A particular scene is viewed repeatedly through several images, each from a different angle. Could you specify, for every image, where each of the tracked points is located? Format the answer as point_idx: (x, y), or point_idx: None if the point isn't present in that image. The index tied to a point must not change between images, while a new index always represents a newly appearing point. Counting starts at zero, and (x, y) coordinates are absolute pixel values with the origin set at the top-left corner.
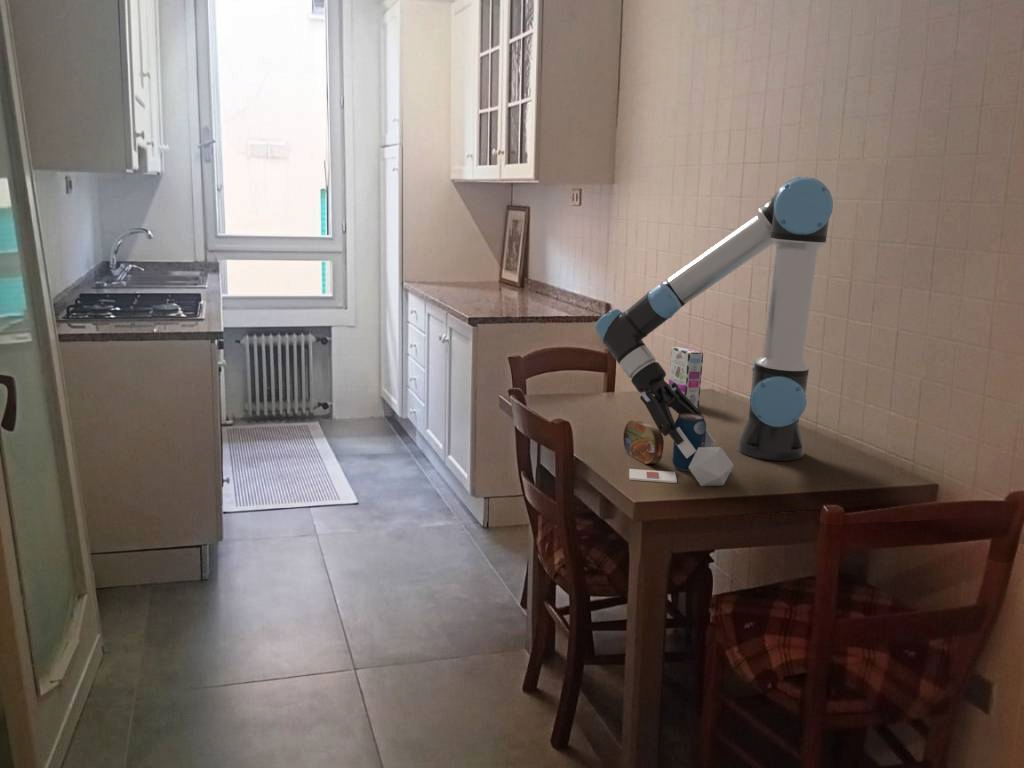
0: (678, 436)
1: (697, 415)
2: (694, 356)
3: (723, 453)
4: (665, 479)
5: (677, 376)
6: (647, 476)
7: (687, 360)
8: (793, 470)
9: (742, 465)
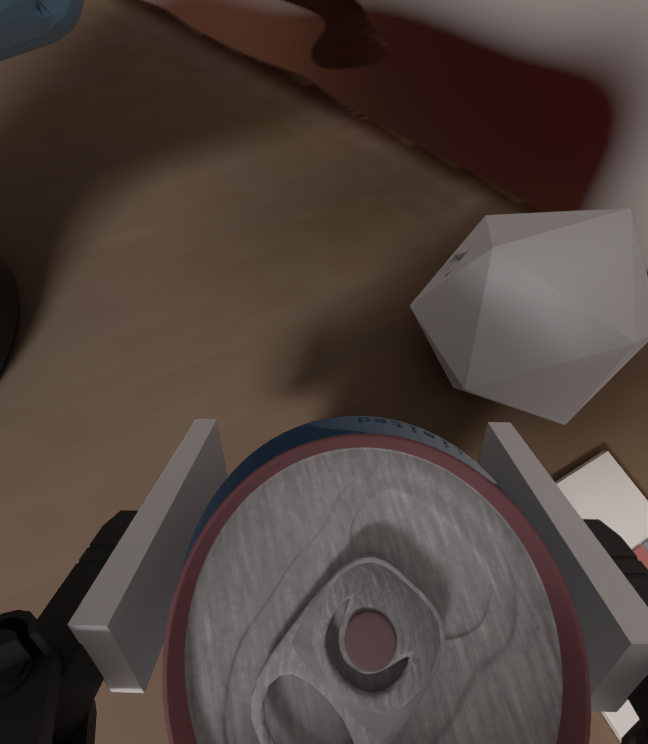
0: (635, 569)
1: (186, 610)
2: None
3: (527, 225)
4: (630, 507)
5: None
6: None
7: None
8: (107, 203)
9: (149, 354)
